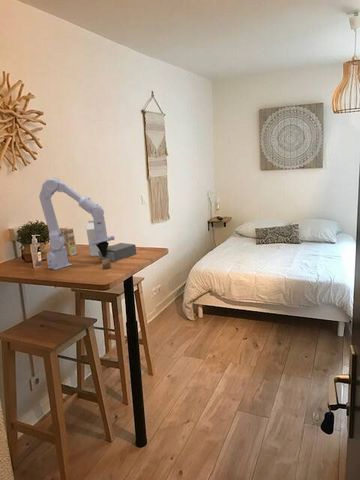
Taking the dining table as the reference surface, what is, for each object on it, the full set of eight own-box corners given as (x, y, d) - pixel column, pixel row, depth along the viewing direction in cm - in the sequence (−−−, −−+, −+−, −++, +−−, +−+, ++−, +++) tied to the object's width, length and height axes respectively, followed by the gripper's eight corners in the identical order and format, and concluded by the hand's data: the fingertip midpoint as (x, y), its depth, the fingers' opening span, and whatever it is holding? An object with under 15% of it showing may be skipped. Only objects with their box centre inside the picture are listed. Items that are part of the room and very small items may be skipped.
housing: (115, 260, 194) (114, 250, 193) (101, 258, 202) (100, 248, 201) (136, 254, 204) (135, 244, 203) (122, 251, 212) (120, 242, 211)
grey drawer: (113, 261, 193) (112, 253, 192) (99, 258, 201) (98, 250, 200) (134, 254, 203) (133, 246, 202) (120, 252, 211) (119, 244, 210)
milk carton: (102, 255, 207) (97, 221, 203) (90, 256, 209) (85, 222, 205) (107, 252, 214) (102, 219, 210) (95, 253, 216) (90, 219, 212)
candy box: (77, 254, 217) (73, 227, 214) (70, 256, 214) (66, 229, 211) (70, 252, 223) (65, 226, 220) (63, 254, 220) (59, 228, 217)
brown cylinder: (106, 269, 180) (104, 261, 179) (101, 268, 183) (99, 260, 182) (112, 267, 183) (111, 259, 182) (107, 266, 185) (106, 258, 185)
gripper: (93, 234, 185) (97, 261, 188) (116, 228, 195) (120, 253, 198) (84, 233, 190) (88, 259, 193) (108, 227, 200) (111, 252, 203)
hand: (104, 256), depth 196 cm, fingers closed
